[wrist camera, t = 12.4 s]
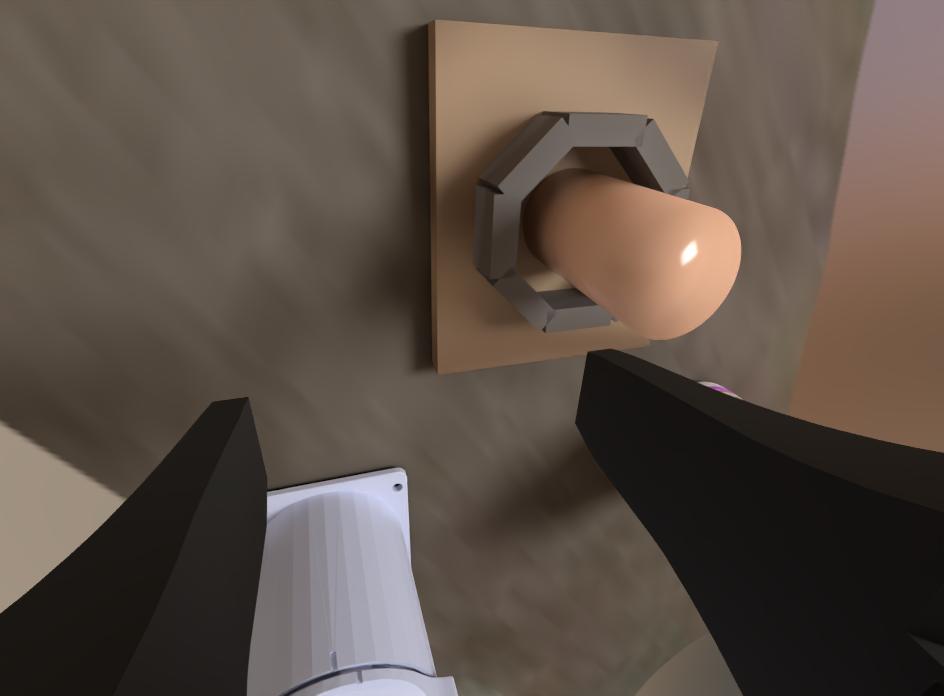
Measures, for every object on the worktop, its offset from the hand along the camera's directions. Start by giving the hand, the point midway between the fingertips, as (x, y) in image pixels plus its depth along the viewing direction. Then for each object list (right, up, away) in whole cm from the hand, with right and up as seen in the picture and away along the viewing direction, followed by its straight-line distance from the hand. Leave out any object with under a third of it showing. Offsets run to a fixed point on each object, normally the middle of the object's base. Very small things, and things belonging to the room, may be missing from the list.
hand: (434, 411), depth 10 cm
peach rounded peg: (+5, +7, +9) cm, 12 cm away
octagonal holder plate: (+4, +7, +10) cm, 13 cm away
